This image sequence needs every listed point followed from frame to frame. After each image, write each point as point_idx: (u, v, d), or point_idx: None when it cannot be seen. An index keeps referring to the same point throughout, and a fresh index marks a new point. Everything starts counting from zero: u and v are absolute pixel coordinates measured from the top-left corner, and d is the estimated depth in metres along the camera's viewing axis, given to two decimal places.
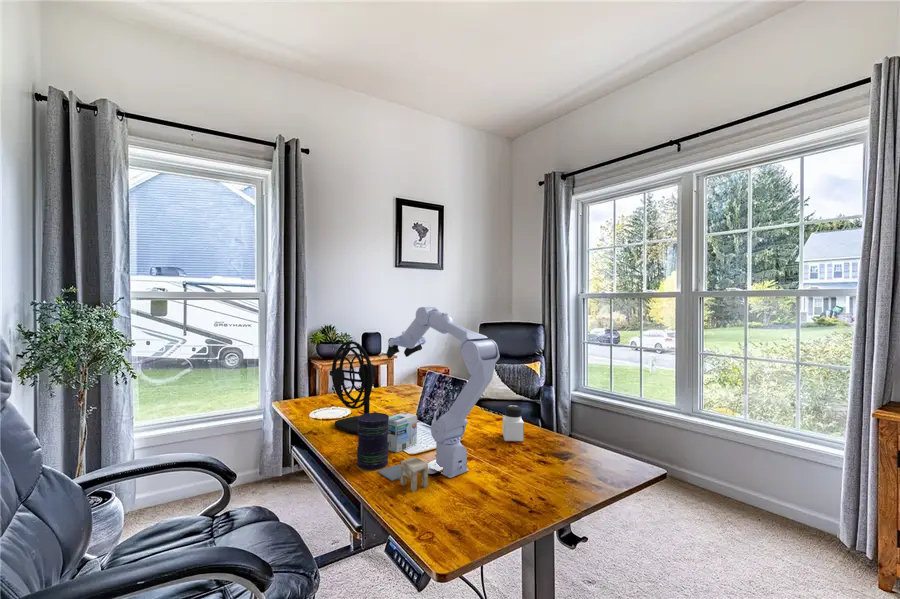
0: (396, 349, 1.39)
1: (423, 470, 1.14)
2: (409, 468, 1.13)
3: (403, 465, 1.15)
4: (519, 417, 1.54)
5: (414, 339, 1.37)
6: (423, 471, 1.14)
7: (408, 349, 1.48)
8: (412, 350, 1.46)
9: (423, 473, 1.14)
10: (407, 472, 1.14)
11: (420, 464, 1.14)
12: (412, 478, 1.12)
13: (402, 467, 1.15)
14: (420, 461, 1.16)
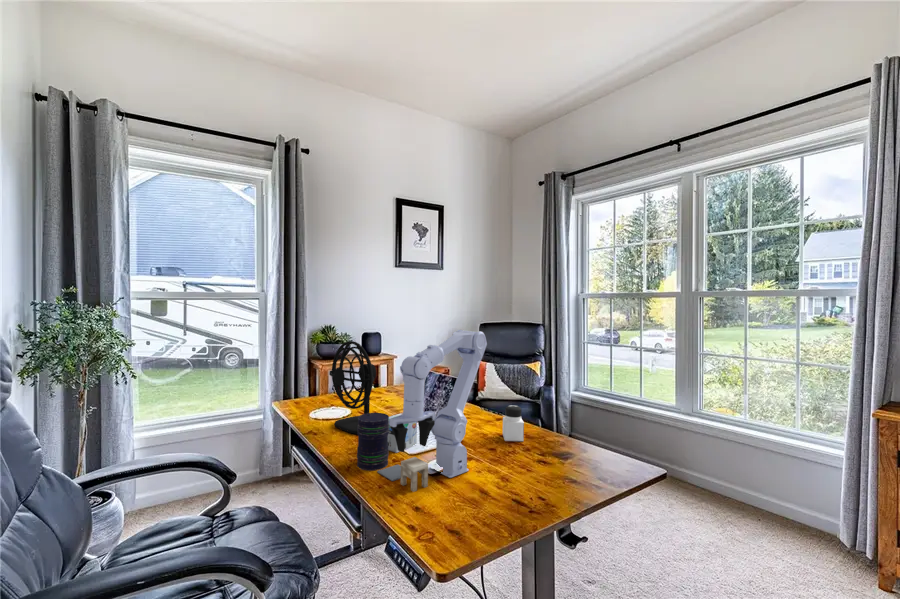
0: (403, 428, 1.11)
1: (423, 470, 1.14)
2: (409, 468, 1.13)
3: (403, 465, 1.15)
4: (519, 417, 1.54)
5: (415, 403, 1.13)
6: (423, 471, 1.14)
7: (422, 435, 1.18)
8: (425, 430, 1.17)
9: (423, 473, 1.14)
10: (407, 472, 1.14)
11: (420, 464, 1.14)
12: (412, 478, 1.12)
13: (402, 467, 1.15)
14: (420, 461, 1.16)
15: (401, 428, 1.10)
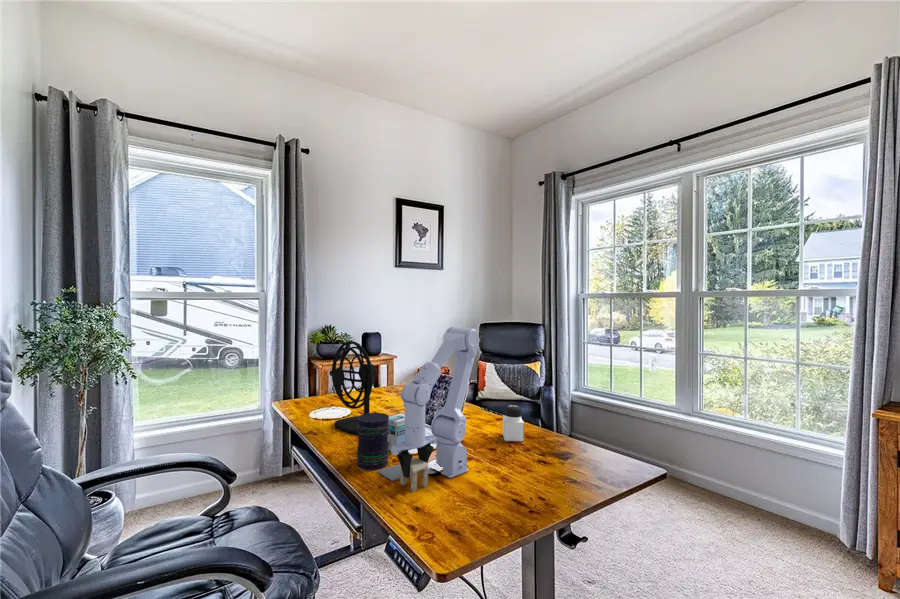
0: (407, 454, 1.11)
1: (423, 470, 1.14)
2: None
3: None
4: (519, 417, 1.54)
5: (417, 430, 1.13)
6: (423, 471, 1.14)
7: None
8: (424, 457, 1.16)
9: (423, 473, 1.14)
10: None
11: (420, 464, 1.14)
12: (412, 478, 1.12)
13: None
14: (420, 461, 1.16)
15: (406, 455, 1.11)
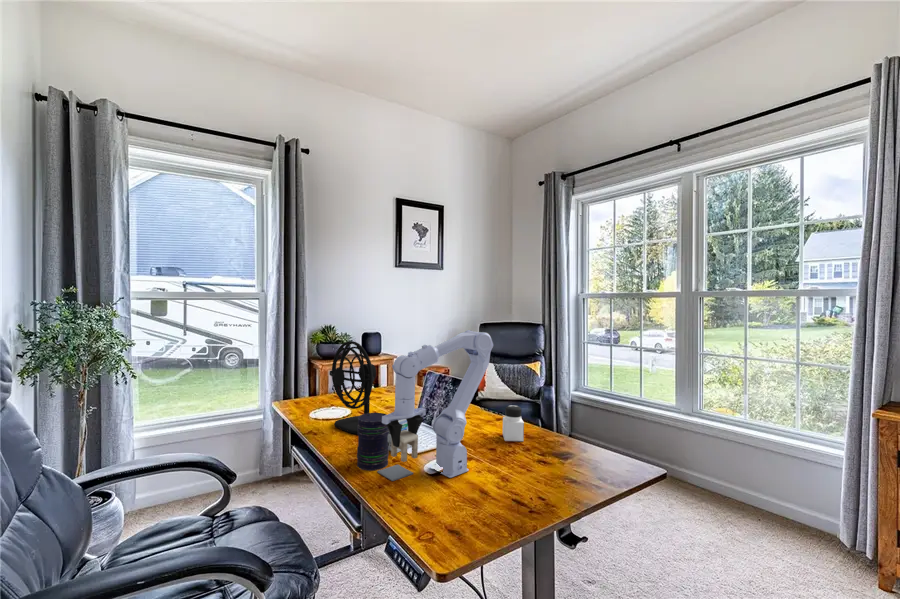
0: (397, 424, 1.15)
1: (413, 442, 1.18)
2: None
3: None
4: (519, 417, 1.54)
5: (407, 401, 1.17)
6: (413, 443, 1.18)
7: None
8: (414, 427, 1.20)
9: (413, 444, 1.18)
10: None
11: (410, 436, 1.18)
12: (402, 449, 1.16)
13: None
14: (410, 433, 1.20)
15: (396, 424, 1.15)
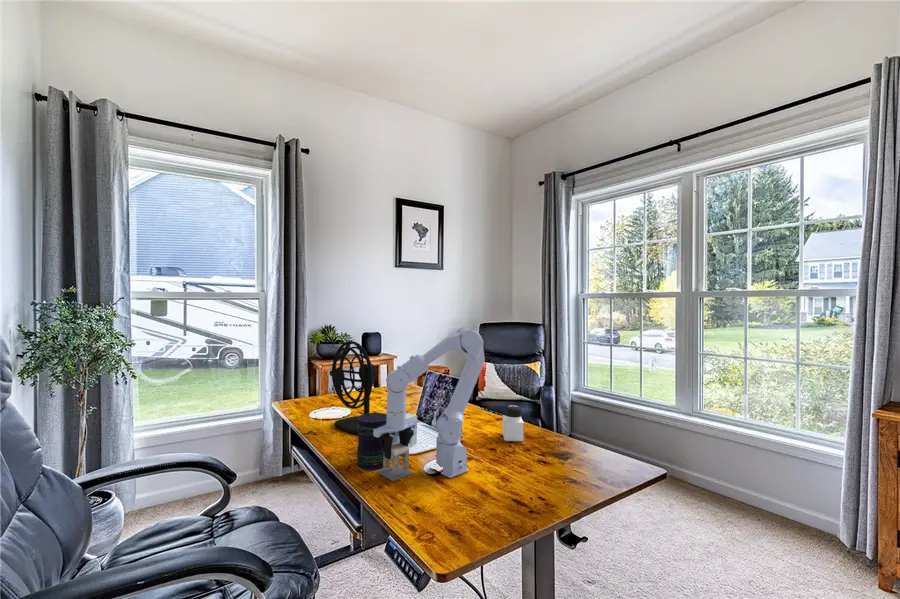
0: (388, 437, 1.19)
1: (404, 454, 1.22)
2: (391, 452, 1.20)
3: None
4: (519, 417, 1.54)
5: (397, 414, 1.20)
6: (405, 455, 1.22)
7: (402, 444, 1.25)
8: (405, 440, 1.24)
9: (404, 457, 1.22)
10: None
11: (401, 448, 1.21)
12: (393, 461, 1.19)
13: None
14: (402, 446, 1.23)
15: (387, 437, 1.19)
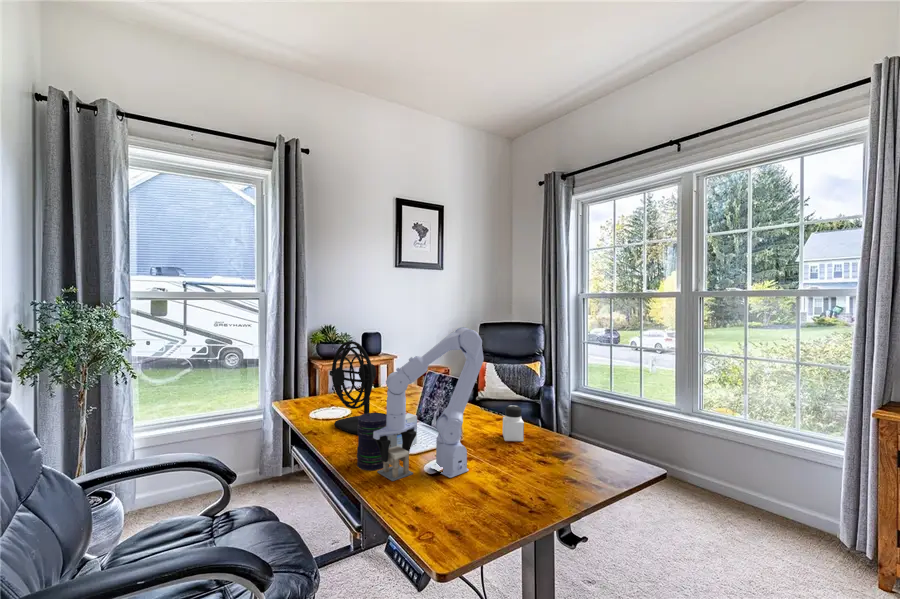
0: (385, 440, 1.18)
1: (404, 458, 1.22)
2: (391, 456, 1.20)
3: None
4: (519, 417, 1.54)
5: (397, 416, 1.20)
6: (404, 459, 1.22)
7: (404, 445, 1.26)
8: (408, 441, 1.25)
9: (404, 461, 1.22)
10: (389, 460, 1.21)
11: (401, 452, 1.21)
12: (393, 465, 1.19)
13: None
14: (402, 449, 1.23)
15: (384, 440, 1.18)
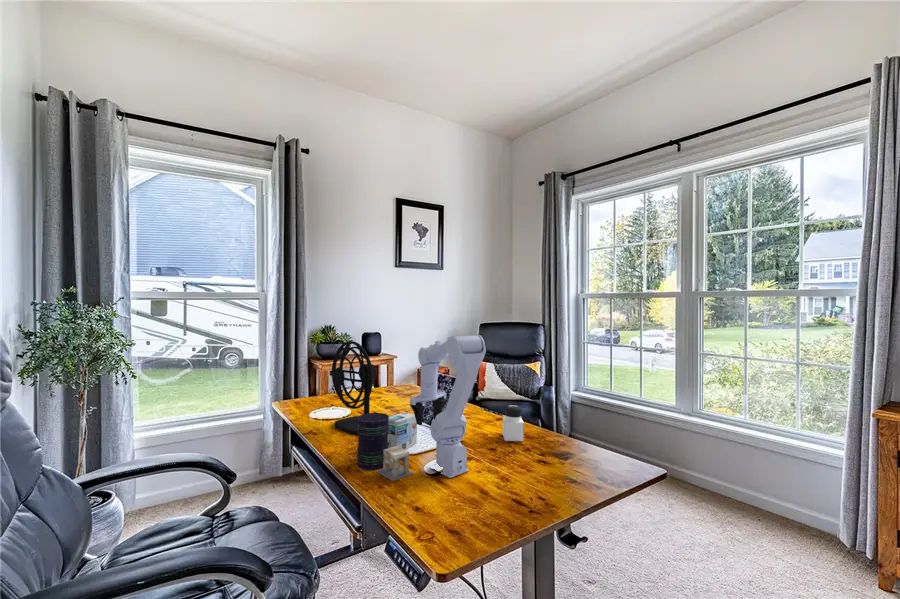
0: (421, 405, 1.35)
1: (404, 458, 1.22)
2: (391, 456, 1.20)
3: (385, 453, 1.23)
4: (519, 417, 1.54)
5: (431, 385, 1.37)
6: (404, 459, 1.22)
7: (435, 411, 1.42)
8: (439, 408, 1.41)
9: (404, 461, 1.22)
10: (389, 460, 1.21)
11: (401, 452, 1.21)
12: (393, 465, 1.19)
13: (385, 455, 1.23)
14: (402, 449, 1.23)
15: (419, 406, 1.35)
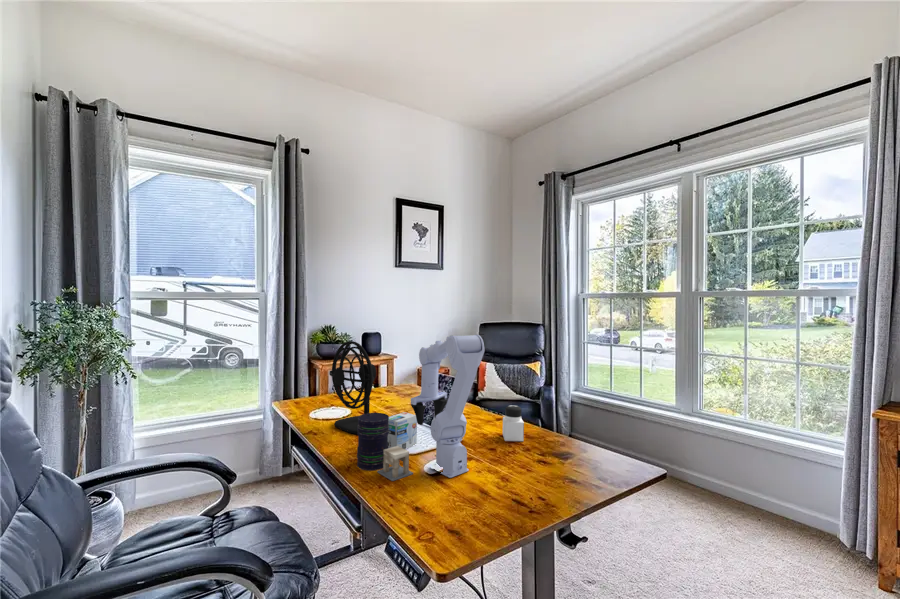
0: (421, 405, 1.35)
1: (404, 458, 1.22)
2: (391, 456, 1.20)
3: (385, 453, 1.23)
4: (519, 417, 1.54)
5: (431, 385, 1.37)
6: (404, 459, 1.22)
7: (436, 411, 1.43)
8: (439, 408, 1.41)
9: (404, 461, 1.22)
10: (389, 460, 1.21)
11: (401, 452, 1.21)
12: (393, 465, 1.19)
13: (385, 455, 1.23)
14: (402, 449, 1.23)
15: (420, 406, 1.35)
